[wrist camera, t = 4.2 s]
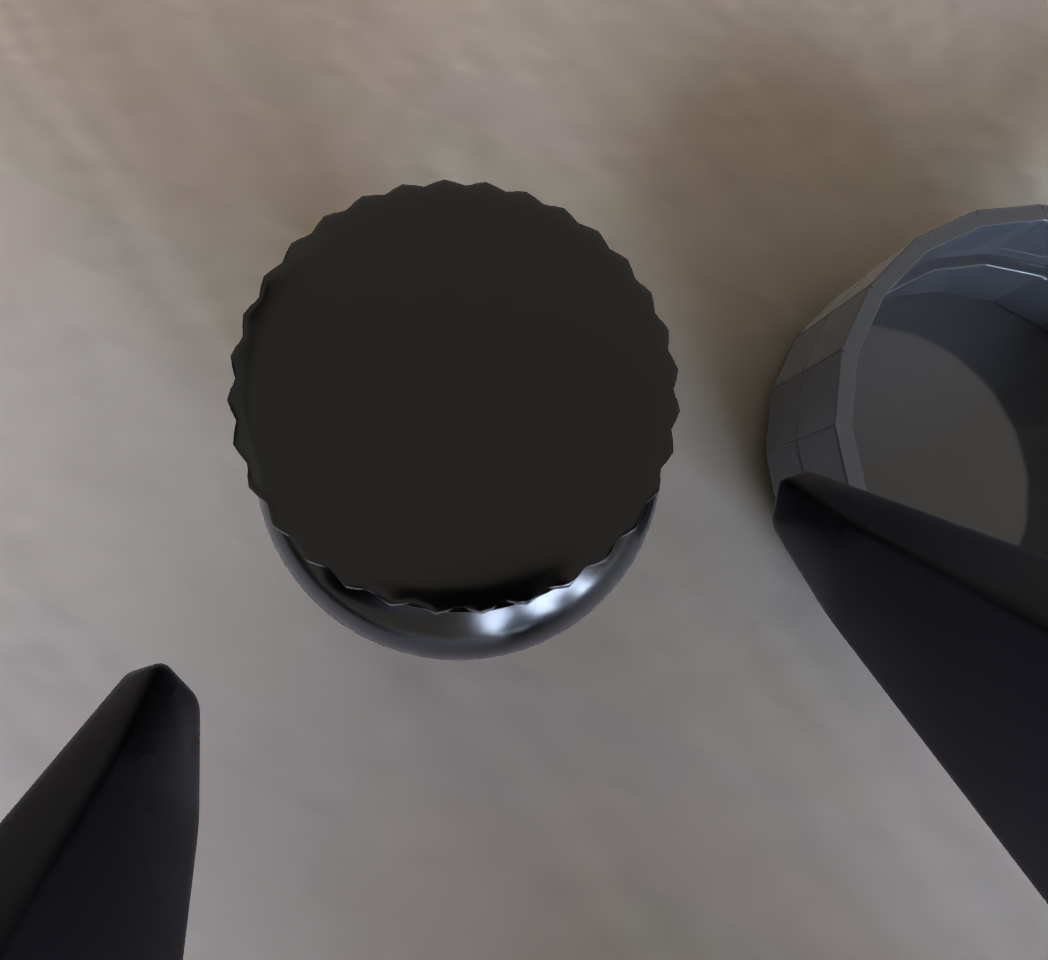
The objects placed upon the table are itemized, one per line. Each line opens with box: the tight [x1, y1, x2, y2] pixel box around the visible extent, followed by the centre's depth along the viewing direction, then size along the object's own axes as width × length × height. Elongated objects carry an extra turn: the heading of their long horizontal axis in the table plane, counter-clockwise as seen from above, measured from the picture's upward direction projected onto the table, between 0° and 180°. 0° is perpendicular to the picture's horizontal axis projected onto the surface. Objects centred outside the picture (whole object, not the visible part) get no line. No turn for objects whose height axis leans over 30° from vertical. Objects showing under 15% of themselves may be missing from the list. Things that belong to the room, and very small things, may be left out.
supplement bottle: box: [227, 180, 680, 660], centre depth 12 cm, size 7×7×12 cm
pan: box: [765, 204, 1048, 556], centre depth 17 cm, size 13×13×4 cm
